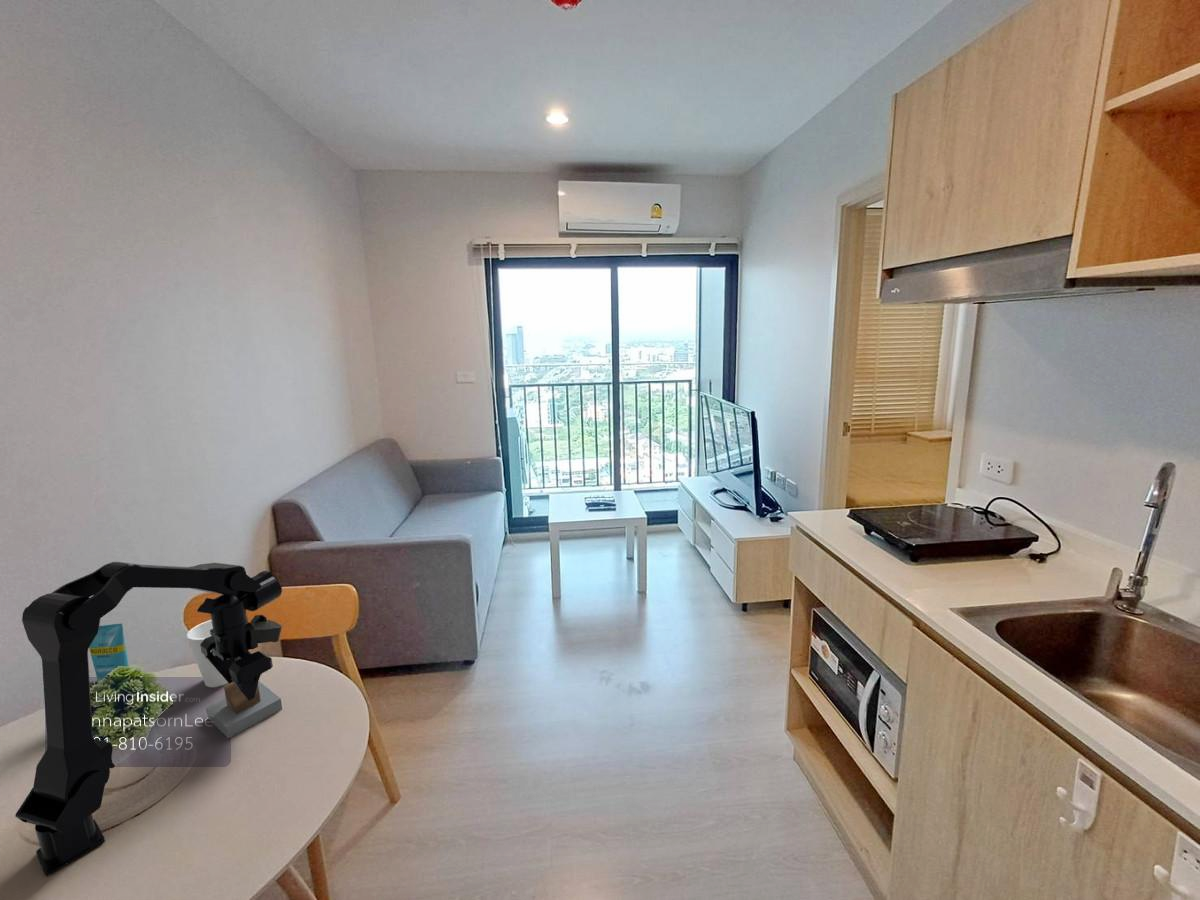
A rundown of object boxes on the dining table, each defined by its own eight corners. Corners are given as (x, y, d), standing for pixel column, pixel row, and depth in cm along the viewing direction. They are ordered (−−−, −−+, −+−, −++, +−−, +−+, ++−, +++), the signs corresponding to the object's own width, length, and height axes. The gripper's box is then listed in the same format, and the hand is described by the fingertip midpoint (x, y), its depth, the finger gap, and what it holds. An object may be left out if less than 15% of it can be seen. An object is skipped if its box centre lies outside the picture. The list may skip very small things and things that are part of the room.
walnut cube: (260, 701, 106) (257, 682, 106) (236, 713, 103) (233, 694, 102) (251, 693, 109) (248, 674, 108) (227, 705, 105) (223, 686, 104)
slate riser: (282, 708, 108) (280, 698, 107) (228, 738, 100) (226, 727, 99) (260, 691, 113) (259, 681, 113) (207, 718, 105) (205, 707, 105)
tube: (92, 715, 106) (72, 632, 102) (108, 699, 111) (89, 620, 107) (133, 709, 108) (115, 628, 104) (147, 694, 112) (131, 616, 108)
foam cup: (249, 678, 118) (241, 628, 115) (200, 697, 111) (190, 645, 108) (241, 660, 124) (233, 612, 121) (194, 678, 118) (184, 627, 115)
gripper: (294, 618, 104) (304, 685, 107) (253, 594, 114) (263, 656, 117) (232, 645, 94) (244, 717, 98) (194, 615, 105) (206, 682, 108)
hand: (241, 690), depth 105 cm, fingers open, 9 cm apart
